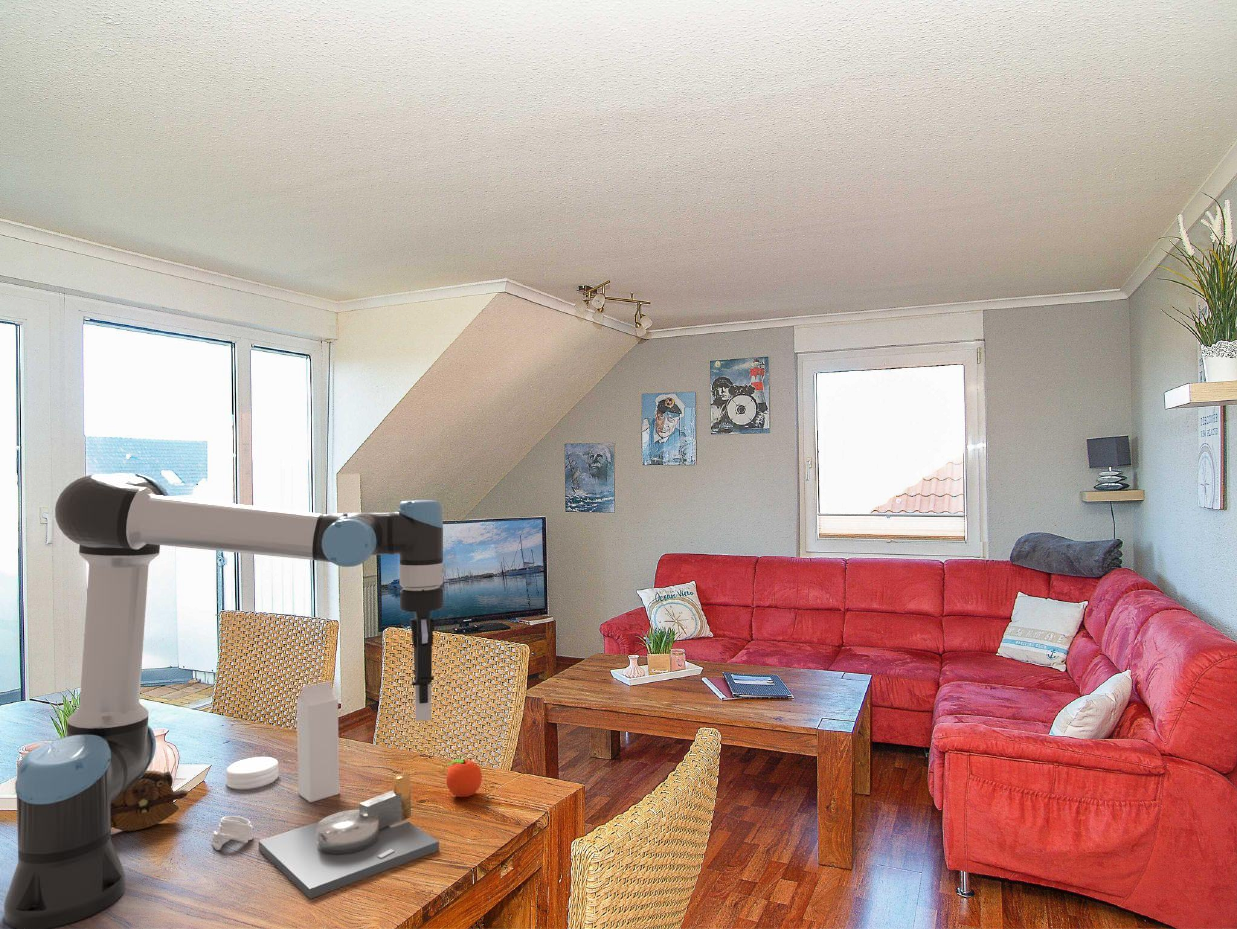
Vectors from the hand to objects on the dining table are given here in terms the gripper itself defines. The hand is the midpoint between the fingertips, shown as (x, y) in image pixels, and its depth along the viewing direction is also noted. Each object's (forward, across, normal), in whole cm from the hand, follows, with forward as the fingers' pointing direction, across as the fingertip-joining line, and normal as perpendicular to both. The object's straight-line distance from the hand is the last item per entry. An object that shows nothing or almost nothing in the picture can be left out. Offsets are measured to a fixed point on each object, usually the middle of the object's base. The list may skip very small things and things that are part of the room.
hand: (423, 719), depth 145 cm
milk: (+20, +24, +19) cm, 37 cm away
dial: (+18, -1, +10) cm, 21 cm away
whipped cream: (+21, +8, +32) cm, 39 cm away
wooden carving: (+21, +19, +49) cm, 57 cm away
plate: (+20, -3, +13) cm, 24 cm away
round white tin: (+21, +37, +32) cm, 53 cm away
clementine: (+20, +14, -8) cm, 26 cm away
